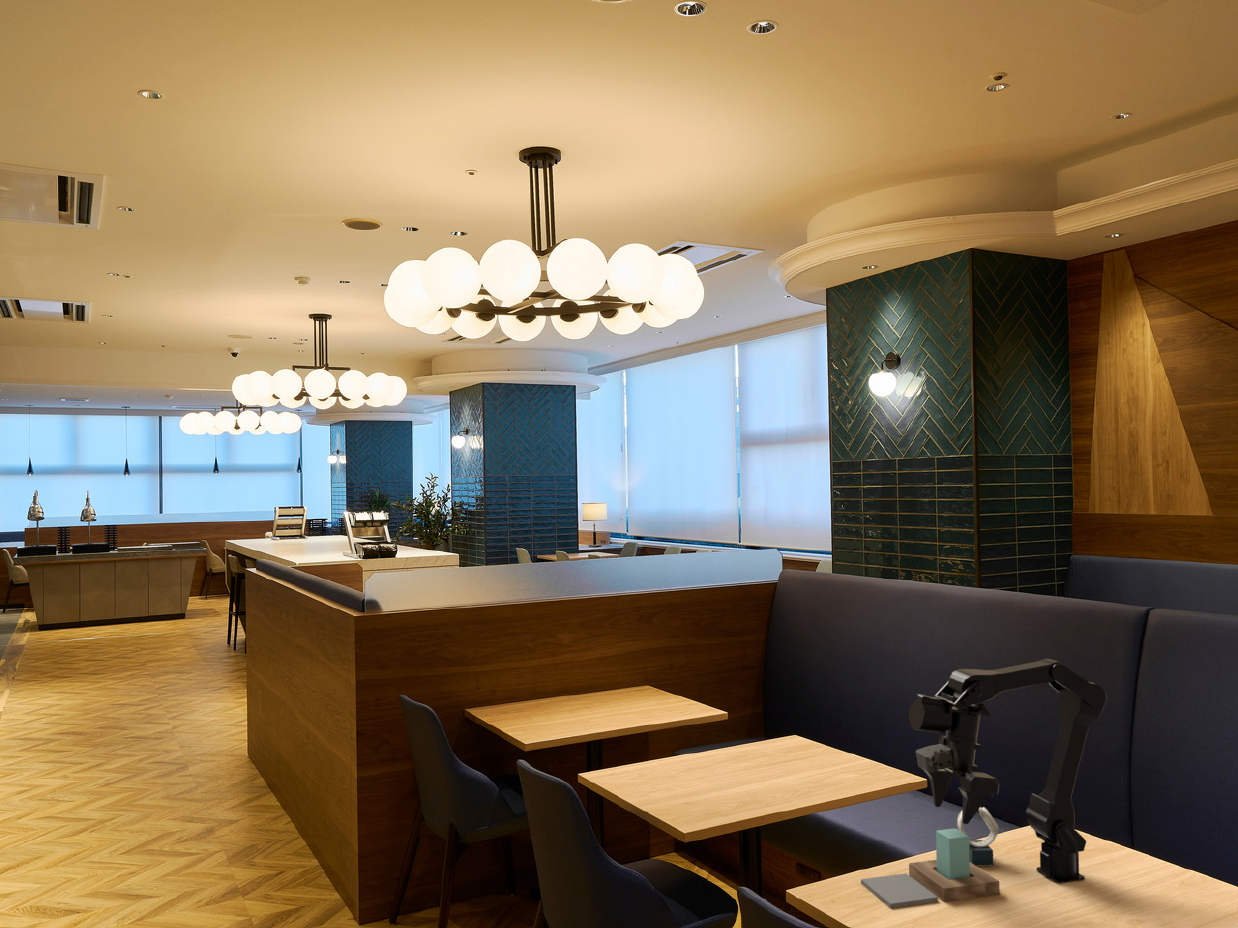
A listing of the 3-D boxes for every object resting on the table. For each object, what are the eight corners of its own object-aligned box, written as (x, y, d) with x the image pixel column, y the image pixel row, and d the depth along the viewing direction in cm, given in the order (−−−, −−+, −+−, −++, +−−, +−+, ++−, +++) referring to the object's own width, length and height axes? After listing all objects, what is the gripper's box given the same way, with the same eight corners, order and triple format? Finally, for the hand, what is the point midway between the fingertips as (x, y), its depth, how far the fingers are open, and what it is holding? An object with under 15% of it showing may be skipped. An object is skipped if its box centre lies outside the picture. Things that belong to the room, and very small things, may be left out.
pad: (906, 877, 184) (906, 873, 184) (938, 901, 173) (937, 896, 173) (860, 883, 181) (860, 879, 181) (890, 907, 171) (890, 903, 171)
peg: (956, 878, 183) (955, 828, 183) (970, 888, 178) (968, 836, 179) (936, 881, 182) (935, 830, 182) (950, 890, 177) (949, 838, 178)
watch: (1003, 865, 189) (1001, 811, 189) (963, 865, 189) (962, 811, 189) (992, 854, 194) (991, 802, 195) (954, 854, 195) (953, 802, 195)
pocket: (961, 868, 187) (961, 856, 187) (999, 894, 176) (999, 880, 176) (909, 875, 184) (909, 863, 185) (944, 901, 173) (944, 888, 173)
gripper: (899, 719, 188) (889, 795, 187) (954, 745, 170) (942, 829, 169) (947, 724, 191) (937, 799, 190) (1005, 750, 173) (994, 833, 172)
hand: (950, 814), depth 180 cm, fingers open, 9 cm apart
